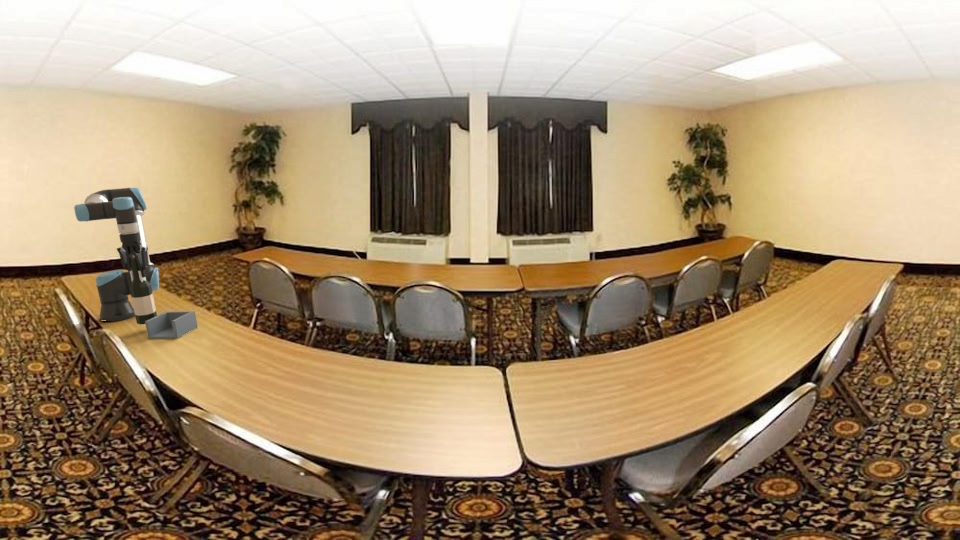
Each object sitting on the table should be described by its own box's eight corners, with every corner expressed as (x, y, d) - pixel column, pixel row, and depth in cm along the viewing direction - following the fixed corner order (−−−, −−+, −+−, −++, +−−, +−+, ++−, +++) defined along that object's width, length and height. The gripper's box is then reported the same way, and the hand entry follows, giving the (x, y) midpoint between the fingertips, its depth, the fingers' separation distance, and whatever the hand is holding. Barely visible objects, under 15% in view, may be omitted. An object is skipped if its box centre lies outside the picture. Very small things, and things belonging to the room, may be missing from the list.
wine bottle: (148, 324, 245) (134, 259, 238) (132, 324, 247) (118, 259, 240) (162, 318, 253) (149, 255, 246) (146, 318, 255) (133, 255, 248)
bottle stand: (169, 328, 253) (166, 311, 251) (197, 327, 251) (194, 310, 249) (148, 338, 239) (144, 321, 237) (178, 338, 237) (174, 321, 236)
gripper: (105, 234, 238) (116, 286, 243) (140, 233, 236) (150, 286, 241) (118, 231, 245) (129, 282, 251) (152, 230, 243) (162, 281, 249)
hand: (139, 284), depth 246 cm, fingers closed on wine bottle, 3 cm apart
